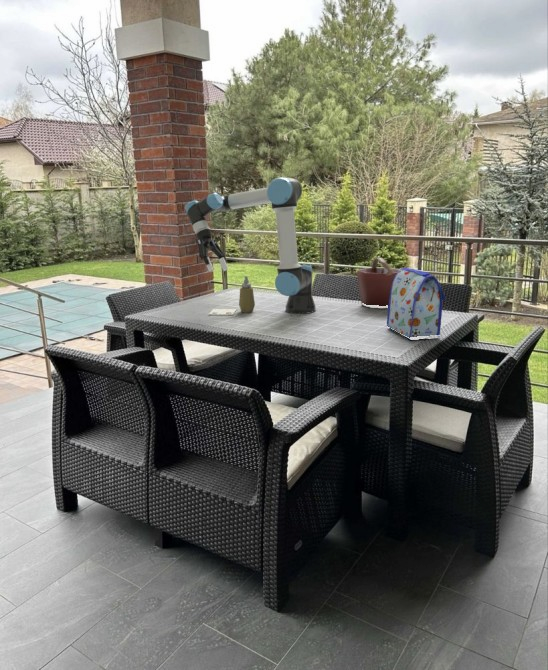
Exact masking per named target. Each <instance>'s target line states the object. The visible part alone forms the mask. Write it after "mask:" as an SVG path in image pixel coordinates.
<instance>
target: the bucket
mask: <svg viewBox="0 0 548 670" xmlns="http://www.w3.org/2000/svg"><path fill="white" fill-rule="evenodd" d="M378 263H380V264H381V265H382V267H378ZM400 269H401V268H392V267H391V266H390V265H389V264H388V263H387V261H386V260H385V259H384V258H383V257H375V258H374V259H373V260H372V263H371V267H365V268H361V269H357V270H356V278H357V284H358V288H359V296H360V301H361V304H362V303H364V304H366V305H379V306H386V305H389V299H390V291H391V287H392V283H393V280H394V277H395V276H396V275H397V274H398V272H399V270H400Z"/></svg>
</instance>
